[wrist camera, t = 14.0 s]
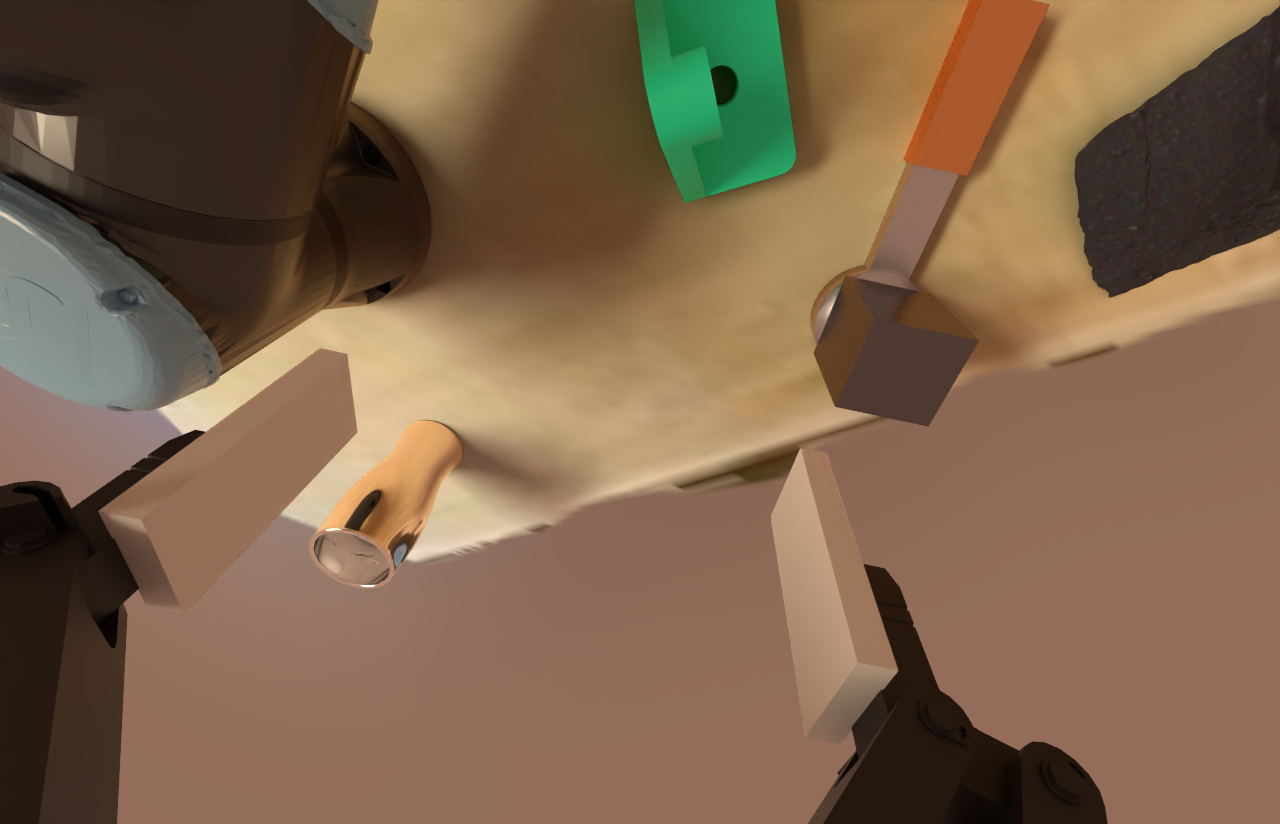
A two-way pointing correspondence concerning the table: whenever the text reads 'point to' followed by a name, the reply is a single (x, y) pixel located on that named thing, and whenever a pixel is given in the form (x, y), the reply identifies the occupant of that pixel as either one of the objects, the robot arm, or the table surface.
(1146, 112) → the dark slate chunk
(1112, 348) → the table surface
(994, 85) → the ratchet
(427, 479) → the beer glass
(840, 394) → the brushed brown cube
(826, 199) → the table surface
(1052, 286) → the table surface
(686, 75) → the camera mount
